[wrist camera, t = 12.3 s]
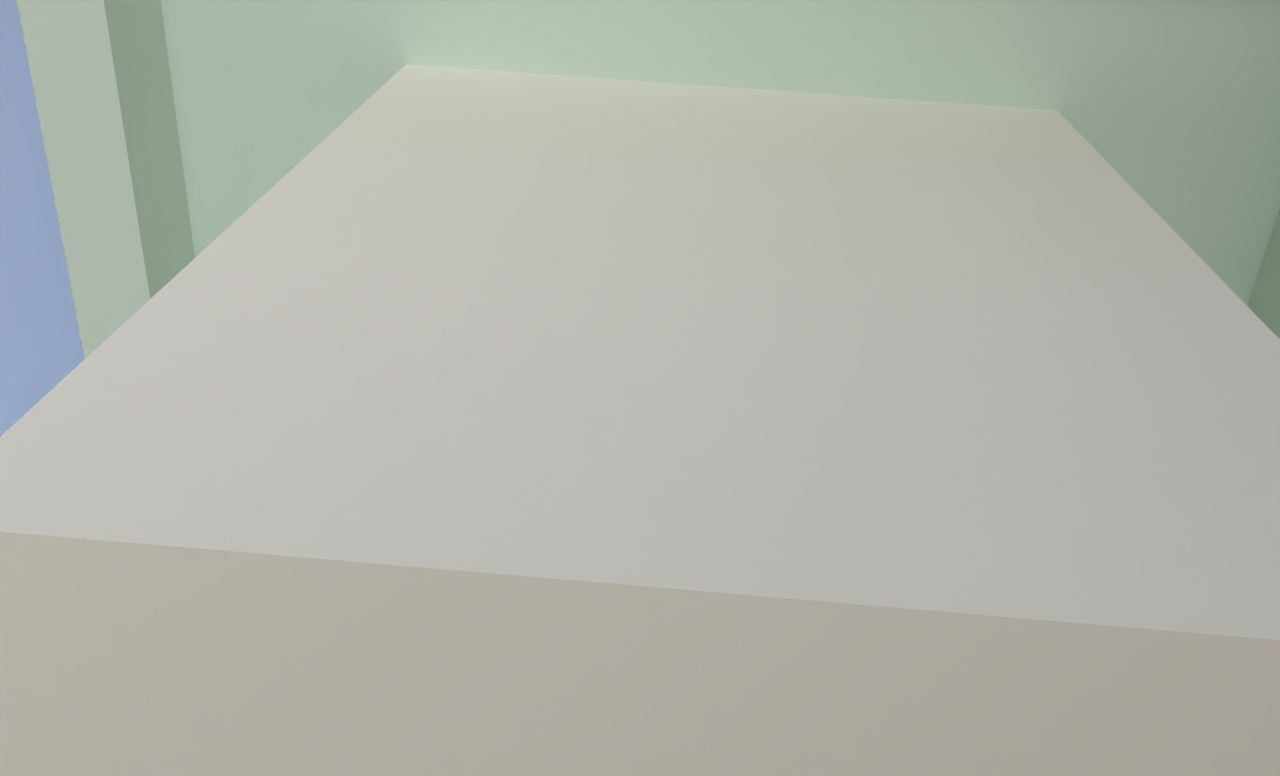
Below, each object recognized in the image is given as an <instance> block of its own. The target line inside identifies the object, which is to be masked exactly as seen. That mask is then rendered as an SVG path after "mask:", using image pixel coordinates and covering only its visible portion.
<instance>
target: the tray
mask: <svg viewBox="0 0 1280 776" xmlns="http://www.w3.org/2000/svg"><path fill="white" fill-rule="evenodd" d="M17 5H18V10H19V16H20V21H21V26H22V32H23V37H24V42H25V47H26V53H27V58H28V63H29V69H30V74H31V79H32V84H33V90H34V95H35V100H36V106H37V111H38V116H39V121H40V127H41V132H42V137H43V143H44V148H45V153H46V158H47V164H48V169H49V174H50V179H51V185H52V190H53V195H54V201H55V206H56V211H57V216H58V222H59V227H60V232H61V238H62V243H63V248H64V253H65V259H66V264H67V269H68V275H69V280H70V285H71V290H72V296H73V301H74V306H75V311H76V317H77V322H78V327H79V333H80V338H81V343H82V348H83V354H84V359H86V358H87V357H88V356H89V355H90V354H91V353H92V352H93V351H94V350H95V349H96V348H98V347H99V346H100V345H101V344H102V343H103V342H104V341H105V340H106V339H107V338H108V337H110V336H111V335H112V334H113V333H114V332H115V331H116V330H117V329H118V328H119V327H120V326H122V325H123V324H124V323H125V322H126V321H127V320H128V319H129V318H130V317H131V316H132V315H134V314H135V313H136V312H137V311H138V310H139V309H140V308H141V307H142V306H143V305H144V304H146V303H147V302H148V301H149V300H150V299H151V298H152V297H153V296H154V295H155V294H156V293H158V292H159V291H160V290H161V289H162V288H163V287H164V286H165V285H166V284H167V283H168V282H169V281H171V280H172V279H173V278H174V277H175V276H176V275H177V274H178V273H179V272H180V271H182V270H183V269H184V268H185V267H186V266H187V265H188V264H189V263H190V262H191V261H192V260H193V259H195V258H196V257H197V256H198V255H199V254H200V253H201V252H202V251H203V250H204V249H206V248H207V247H208V246H209V245H210V244H211V243H212V242H213V241H214V240H215V239H216V238H217V237H219V236H220V235H221V234H222V233H223V232H224V231H225V230H226V229H227V228H228V227H229V226H231V225H232V224H233V223H234V222H235V221H236V220H237V219H238V218H239V217H240V216H242V215H243V214H244V213H245V212H246V211H247V210H248V209H249V208H250V207H251V206H252V205H253V204H255V203H256V202H257V201H258V200H259V199H260V198H261V197H262V196H263V195H264V194H265V193H267V192H268V191H269V190H270V189H271V188H272V187H273V186H274V185H275V184H276V183H277V182H279V181H280V180H281V179H282V178H283V177H284V176H285V175H286V174H287V173H288V172H289V171H291V170H292V169H293V168H294V167H295V166H296V165H297V164H298V163H299V162H300V161H301V160H303V159H304V158H305V157H306V156H307V155H308V154H309V153H310V152H311V151H312V150H313V149H315V148H316V147H317V146H318V145H319V144H320V143H321V142H322V141H323V140H324V139H325V138H327V137H328V136H329V135H330V134H331V133H332V132H333V131H334V130H335V129H336V128H337V127H339V126H340V125H341V124H342V123H343V122H344V121H345V120H346V119H347V118H348V117H349V116H351V115H352V114H353V113H354V112H355V111H356V110H357V109H358V108H359V107H360V106H361V105H363V104H364V103H365V102H366V101H367V100H368V99H369V98H370V97H371V96H372V95H373V94H375V93H376V92H377V91H378V90H379V89H380V88H381V87H382V86H383V85H384V84H385V83H387V82H388V81H389V80H390V79H391V78H392V77H393V76H394V75H395V74H396V73H397V72H399V71H400V70H401V69H402V68H403V67H404V66H405V65H406V64H407V65H421V66H435V67H449V68H463V69H477V70H492V71H506V72H520V73H534V74H548V75H562V76H576V77H591V78H605V79H619V80H633V81H647V82H661V83H676V84H690V85H704V86H718V87H732V88H746V89H760V90H775V91H789V92H803V93H817V94H831V95H845V96H860V97H874V98H888V99H902V100H916V101H930V102H945V103H959V104H973V105H987V106H1001V107H1015V108H1029V109H1044V110H1057V111H1058V112H1059V113H1060V114H1061V115H1062V116H1063V117H1064V118H1065V119H1066V120H1067V121H1068V122H1069V123H1070V124H1071V125H1072V126H1073V127H1074V128H1075V129H1076V130H1077V131H1078V133H1079V134H1080V135H1081V136H1082V137H1083V138H1084V139H1085V140H1086V141H1087V142H1088V143H1089V144H1090V145H1091V146H1092V147H1093V148H1094V149H1095V150H1096V151H1097V152H1098V153H1099V154H1100V155H1101V156H1102V157H1103V158H1104V159H1105V160H1106V161H1107V162H1108V163H1109V164H1110V165H1111V166H1112V167H1113V169H1114V170H1115V171H1116V172H1117V173H1118V174H1119V175H1120V176H1121V177H1122V178H1123V179H1124V180H1125V181H1126V182H1127V183H1128V184H1129V185H1130V186H1131V187H1132V188H1133V189H1134V190H1135V191H1136V192H1137V193H1138V194H1139V195H1140V196H1141V197H1142V198H1143V199H1144V200H1145V201H1146V202H1147V203H1148V205H1149V206H1150V207H1151V208H1152V209H1153V210H1154V211H1155V212H1156V213H1157V214H1158V215H1159V216H1160V217H1161V218H1162V219H1163V220H1164V221H1165V222H1166V223H1167V224H1168V225H1169V226H1170V227H1171V228H1172V229H1173V230H1174V231H1175V232H1176V233H1177V234H1178V235H1179V236H1180V237H1181V238H1182V239H1183V241H1184V242H1185V243H1186V244H1187V245H1188V246H1189V247H1190V248H1191V249H1192V250H1193V251H1194V252H1195V253H1196V254H1197V255H1198V256H1199V257H1200V258H1201V259H1202V260H1203V261H1204V262H1205V263H1206V264H1207V265H1208V266H1209V267H1210V268H1211V269H1212V270H1213V271H1214V272H1215V273H1216V274H1217V275H1218V277H1219V278H1220V279H1221V280H1222V281H1223V282H1224V283H1225V284H1226V285H1227V286H1228V287H1229V288H1230V289H1231V290H1232V291H1233V292H1234V293H1235V294H1236V295H1237V296H1238V297H1239V298H1240V299H1241V300H1242V301H1243V302H1244V303H1245V304H1246V305H1247V306H1248V307H1249V308H1250V309H1251V310H1252V311H1253V313H1254V314H1255V315H1256V316H1257V317H1258V318H1259V319H1260V320H1261V321H1262V322H1263V323H1264V324H1265V325H1266V326H1267V327H1268V328H1269V329H1270V330H1271V331H1272V332H1273V333H1274V334H1275V335H1276V336H1277V337H1278V338H1279V339H1280V0H17Z"/></svg>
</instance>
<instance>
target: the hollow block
mask: <svg viewBox="0 0 1280 776" xmlns="http://www.w3.org/2000/svg"><path fill="white" fill-rule="evenodd" d="M0 776H1280V339H1279V338H1278V337H1277V336H1276V335H1275V334H1274V333H1273V332H1272V331H1271V330H1270V329H1269V328H1268V327H1267V326H1266V325H1265V324H1264V323H1263V322H1262V321H1261V320H1260V319H1259V318H1258V317H1257V316H1256V315H1255V314H1254V313H1253V311H1252V310H1251V309H1250V308H1249V307H1248V306H1247V305H1246V304H1245V303H1244V302H1243V301H1242V300H1241V299H1240V298H1239V297H1238V296H1237V295H1236V294H1235V293H1234V292H1233V291H1232V290H1231V289H1230V288H1229V287H1228V286H1227V285H1226V284H1225V283H1224V282H1223V281H1222V280H1221V279H1220V278H1219V277H1218V275H1217V274H1216V273H1215V272H1214V271H1213V270H1212V269H1211V268H1210V267H1209V266H1208V265H1207V264H1206V263H1205V262H1204V261H1203V260H1202V259H1201V258H1200V257H1199V256H1198V255H1197V254H1196V253H1195V252H1194V251H1193V250H1192V249H1191V248H1190V247H1189V246H1188V245H1187V244H1186V243H1185V242H1184V241H1183V239H1182V238H1181V237H1180V236H1179V235H1178V234H1177V233H1176V232H1175V231H1174V230H1173V229H1172V228H1171V227H1170V226H1169V225H1168V224H1167V223H1166V222H1165V221H1164V220H1163V219H1162V218H1161V217H1160V216H1159V215H1158V214H1157V213H1156V212H1155V211H1154V210H1153V209H1152V208H1151V207H1150V206H1149V205H1148V203H1147V202H1146V201H1145V200H1144V199H1143V198H1142V197H1141V196H1140V195H1139V194H1138V193H1137V192H1136V191H1135V190H1134V189H1133V188H1132V187H1131V186H1130V185H1129V184H1128V183H1127V182H1126V181H1125V180H1124V179H1123V178H1122V177H1121V176H1120V175H1119V174H1118V173H1117V172H1116V171H1115V170H1114V169H1113V167H1112V166H1111V165H1110V164H1109V163H1108V162H1107V161H1106V160H1105V159H1104V158H1103V157H1102V156H1101V155H1100V154H1099V153H1098V152H1097V151H1096V150H1095V149H1094V148H1093V147H1092V146H1091V145H1090V144H1089V143H1088V142H1087V141H1086V140H1085V139H1084V138H1083V137H1082V136H1081V135H1080V134H1079V133H1078V131H1077V130H1076V129H1075V128H1074V127H1073V126H1072V125H1071V124H1070V123H1069V122H1068V121H1067V120H1066V119H1065V118H1064V117H1063V116H1062V115H1061V114H1060V113H1059V112H1058V111H1057V110H1044V109H1029V108H1015V107H1001V106H987V105H973V104H959V103H945V102H930V101H916V100H902V99H888V98H874V97H860V96H845V95H831V94H817V93H803V92H789V91H775V90H760V89H746V88H732V87H718V86H704V85H690V84H676V83H661V82H647V81H633V80H619V79H605V78H591V77H576V76H562V75H548V74H534V73H520V72H506V71H492V70H477V69H463V68H449V67H435V66H421V65H407V64H406V65H405V66H404V67H403V68H402V69H401V70H400V71H399V72H397V73H396V74H395V75H394V76H393V77H392V78H391V79H390V80H389V81H388V82H387V83H385V84H384V85H383V86H382V87H381V88H380V89H379V90H378V91H377V92H376V93H375V94H373V95H372V96H371V97H370V98H369V99H368V100H367V101H366V102H365V103H364V104H363V105H361V106H360V107H359V108H358V109H357V110H356V111H355V112H354V113H353V114H352V115H351V116H349V117H348V118H347V119H346V120H345V121H344V122H343V123H342V124H341V125H340V126H339V127H337V128H336V129H335V130H334V131H333V132H332V133H331V134H330V135H329V136H328V137H327V138H325V139H324V140H323V141H322V142H321V143H320V144H319V145H318V146H317V147H316V148H315V149H313V150H312V151H311V152H310V153H309V154H308V155H307V156H306V157H305V158H304V159H303V160H301V161H300V162H299V163H298V164H297V165H296V166H295V167H294V168H293V169H292V170H291V171H289V172H288V173H287V174H286V175H285V176H284V177H283V178H282V179H281V180H280V181H279V182H277V183H276V184H275V185H274V186H273V187H272V188H271V189H270V190H269V191H268V192H267V193H265V194H264V195H263V196H262V197H261V198H260V199H259V200H258V201H257V202H256V203H255V204H253V205H252V206H251V207H250V208H249V209H248V210H247V211H246V212H245V213H244V214H243V215H242V216H240V217H239V218H238V219H237V220H236V221H235V222H234V223H233V224H232V225H231V226H229V227H228V228H227V229H226V230H225V231H224V232H223V233H222V234H221V235H220V236H219V237H217V238H216V239H215V240H214V241H213V242H212V243H211V244H210V245H209V246H208V247H207V248H206V249H204V250H203V251H202V252H201V253H200V254H199V255H198V256H197V257H196V258H195V259H193V260H192V261H191V262H190V263H189V264H188V265H187V266H186V267H185V268H184V269H183V270H182V271H180V272H179V273H178V274H177V275H176V276H175V277H174V278H173V279H172V280H171V281H169V282H168V283H167V284H166V285H165V286H164V287H163V288H162V289H161V290H160V291H159V292H158V293H156V294H155V295H154V296H153V297H152V298H151V299H150V300H149V301H148V302H147V303H146V304H144V305H143V306H142V307H141V308H140V309H139V310H138V311H137V312H136V313H135V314H134V315H132V316H131V317H130V318H129V319H128V320H127V321H126V322H125V323H124V324H123V325H122V326H120V327H119V328H118V329H117V330H116V331H115V332H114V333H113V334H112V335H111V336H110V337H108V338H107V339H106V340H105V341H104V342H103V343H102V344H101V345H100V346H99V347H98V348H96V349H95V350H94V351H93V352H92V353H91V354H90V355H89V356H88V357H87V358H86V359H84V360H83V361H82V362H81V363H80V364H79V365H78V366H77V367H76V368H75V369H74V370H72V371H71V372H70V373H69V374H68V375H67V376H66V377H65V378H64V379H63V380H62V381H60V382H59V383H58V384H57V385H56V386H55V387H54V388H53V389H52V390H51V391H50V392H48V393H47V394H46V395H45V396H44V397H43V398H42V399H41V400H40V401H39V402H38V403H36V404H35V405H34V406H33V407H32V408H31V409H30V410H29V411H28V412H27V413H26V414H24V415H23V416H22V417H21V418H20V419H19V420H18V421H17V422H16V423H15V424H14V425H12V426H11V427H10V428H9V429H8V430H7V431H6V432H5V433H4V434H3V435H2V436H0Z"/></svg>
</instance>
